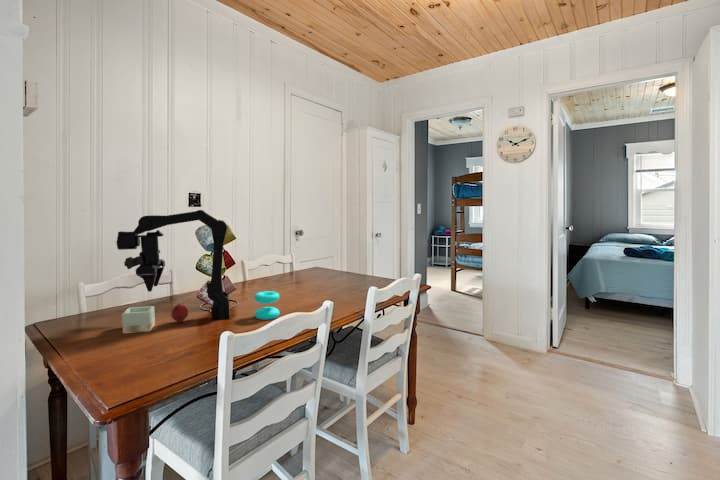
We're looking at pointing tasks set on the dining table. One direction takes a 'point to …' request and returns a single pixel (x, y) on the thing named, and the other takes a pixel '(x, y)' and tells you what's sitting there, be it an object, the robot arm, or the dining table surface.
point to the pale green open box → (138, 316)
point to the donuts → (267, 312)
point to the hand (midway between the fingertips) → (152, 288)
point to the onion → (179, 312)
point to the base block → (139, 328)
